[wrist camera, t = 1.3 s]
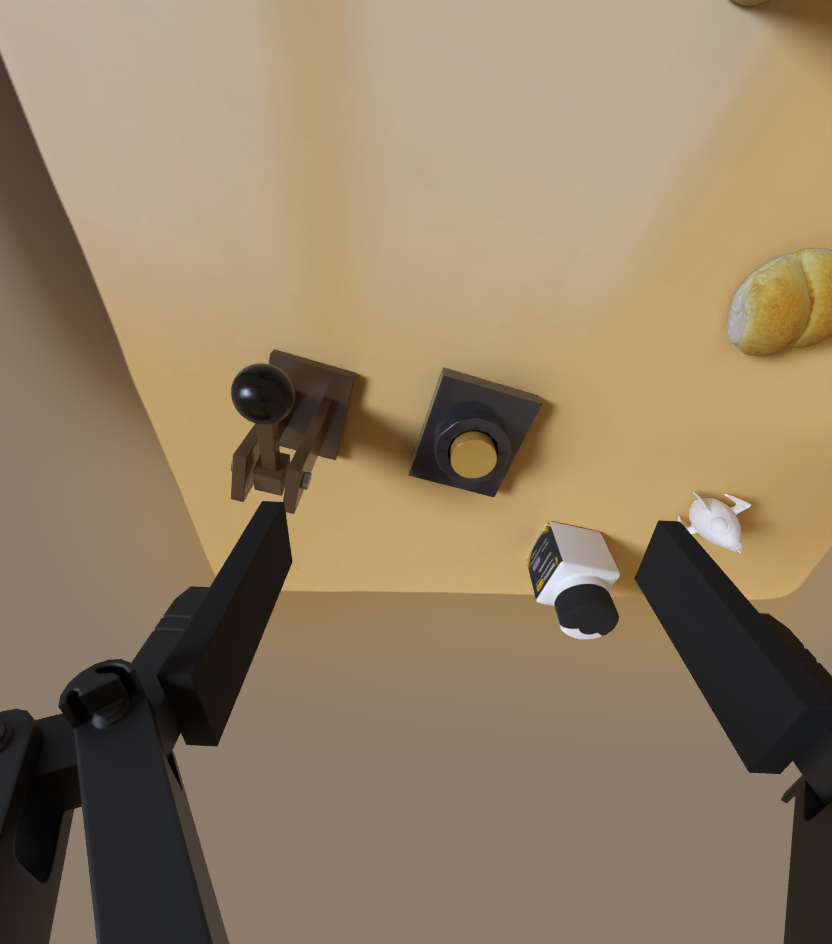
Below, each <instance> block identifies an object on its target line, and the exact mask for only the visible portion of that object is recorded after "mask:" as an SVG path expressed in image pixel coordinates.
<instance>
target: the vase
mask: <svg viewBox="0 0 832 944" xmlns="http://www.w3.org/2000/svg"><path fill="white" fill-rule="evenodd" d="M732 1H734V2H736V3H738V4H741V5H749V6H750V5H756V4H760V3H764V2H766V1H768V0H732Z"/></svg>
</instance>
